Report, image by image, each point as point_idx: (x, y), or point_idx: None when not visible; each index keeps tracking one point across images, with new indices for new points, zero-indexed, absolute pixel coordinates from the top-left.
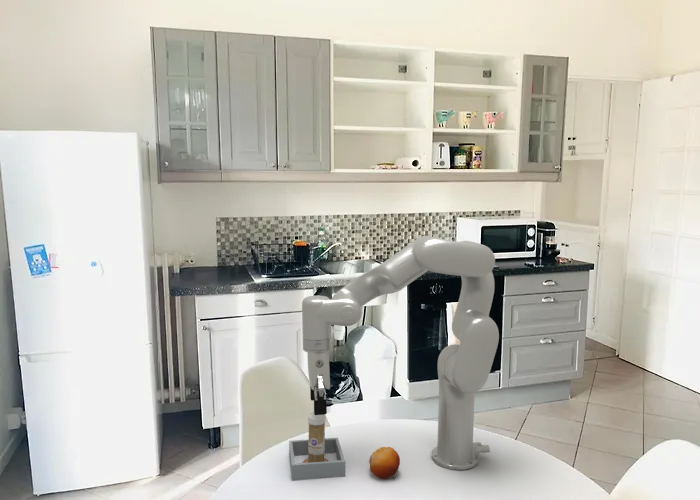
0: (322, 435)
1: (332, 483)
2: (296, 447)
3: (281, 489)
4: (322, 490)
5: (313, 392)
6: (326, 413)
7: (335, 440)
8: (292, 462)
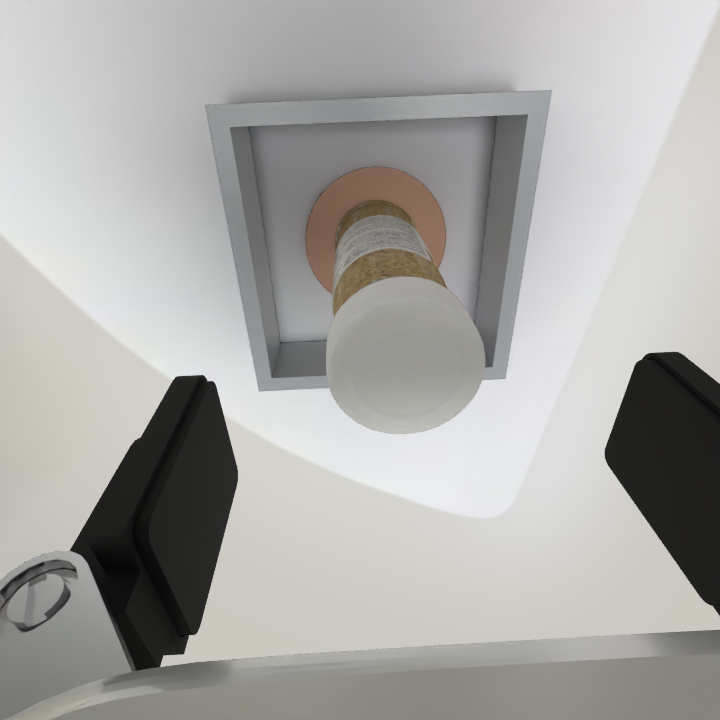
0: (434, 267)
1: (557, 172)
2: (272, 344)
3: (534, 376)
4: (597, 225)
5: (211, 538)
6: (676, 352)
7: (237, 126)
8: None
